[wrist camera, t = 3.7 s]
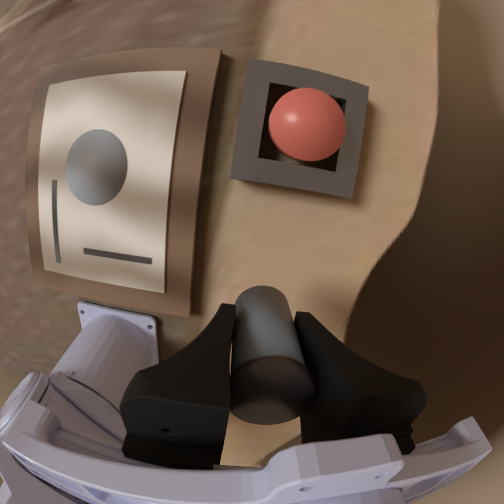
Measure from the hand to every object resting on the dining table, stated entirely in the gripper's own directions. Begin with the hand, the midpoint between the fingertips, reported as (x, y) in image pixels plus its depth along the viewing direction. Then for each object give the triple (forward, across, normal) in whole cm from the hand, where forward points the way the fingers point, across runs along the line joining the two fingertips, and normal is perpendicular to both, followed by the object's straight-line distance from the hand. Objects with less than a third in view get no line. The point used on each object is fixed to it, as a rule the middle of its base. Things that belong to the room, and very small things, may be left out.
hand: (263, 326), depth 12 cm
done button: (+7, -1, -10) cm, 12 cm away
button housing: (+8, -1, -10) cm, 13 cm away
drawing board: (+8, +13, -5) cm, 16 cm away
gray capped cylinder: (+1, 0, 0) cm, 1 cm away
